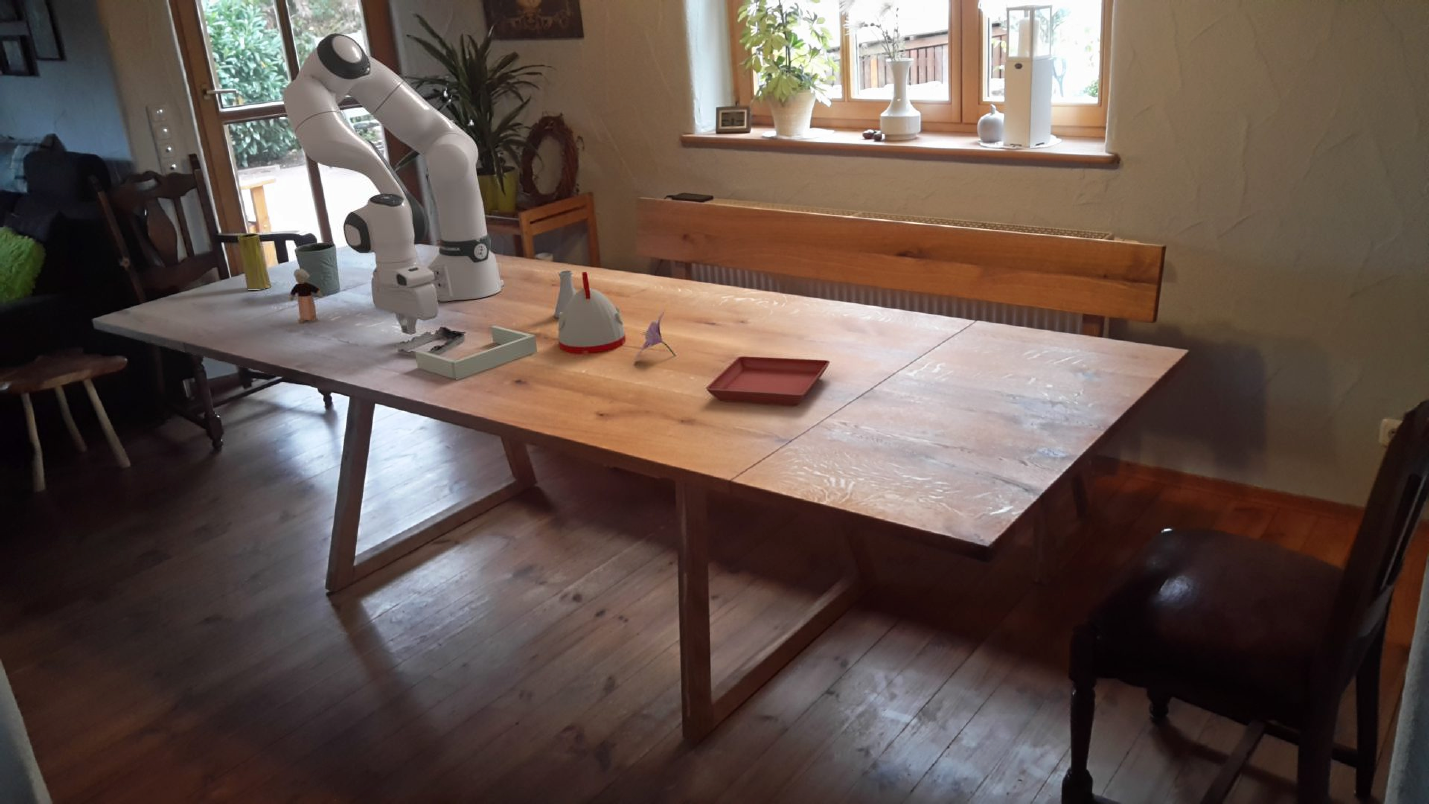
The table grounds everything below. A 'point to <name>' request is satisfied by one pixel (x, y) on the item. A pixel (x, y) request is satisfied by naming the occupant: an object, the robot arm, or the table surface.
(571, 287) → the flask
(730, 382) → the plant saucer
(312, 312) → the grandmother figurine
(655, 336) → the lily
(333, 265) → the green plant pot
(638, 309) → the table surface
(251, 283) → the vase
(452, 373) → the frame
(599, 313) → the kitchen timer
